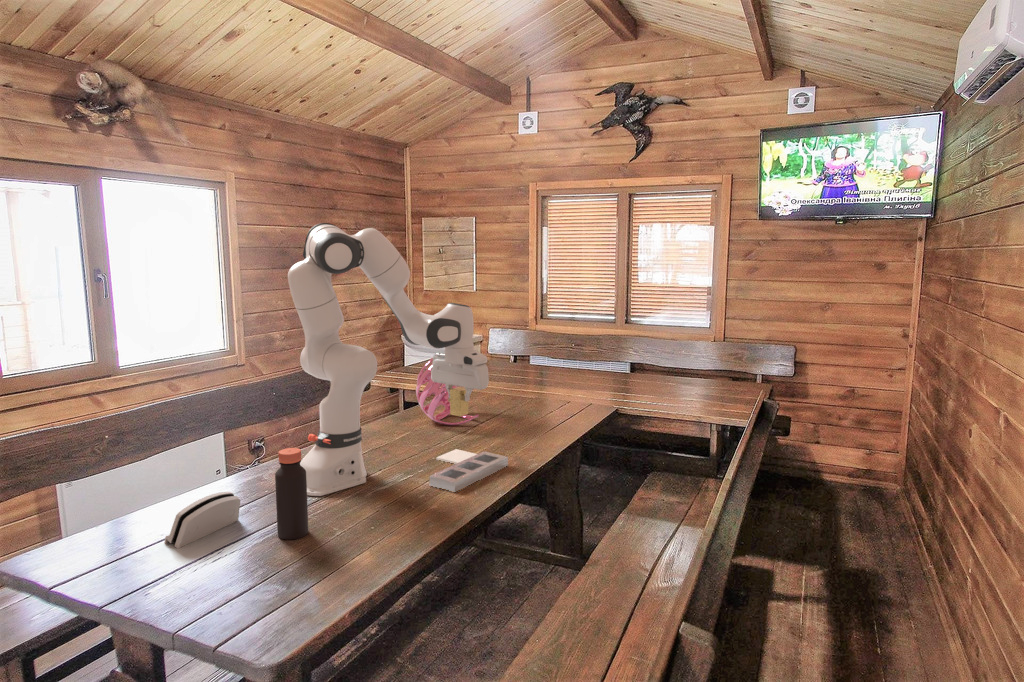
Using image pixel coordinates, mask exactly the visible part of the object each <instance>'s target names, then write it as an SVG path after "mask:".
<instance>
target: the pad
mask: <svg viewBox="0 0 1024 682" xmlns="http://www.w3.org/2000/svg"><path fill="white" fill-rule="evenodd" d="M477 454H478V453H475V452H469V451H466V450H461V449H457V448H455V449H453V450H451V451H448V452H445V453H443V454H441V455H438V456H437V457H435V459H436V461H439V460H441V461H440V462H443V461H445V462H444V463H447V462H450V463H449V464H451V463H454V464H453V465H455V464H457V463H459V462H461V461H463V460H466V459H468V458H470V457H472V456H475V455H477Z"/></svg>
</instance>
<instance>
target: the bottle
mask: <svg viewBox="0 0 1024 682" xmlns="http://www.w3.org/2000/svg"><path fill="white" fill-rule="evenodd" d="M301 460H302V450H301V449H300V448H297V447H287V448H283V449H280V450H279V451H278V464H279V465H280V467H279V468H278V469H277V470H276V472H274V473H275V474H274V482H275V484H274V485H275V486H274V487H275V504H276V524H277V525H276V528H277V536H278V537H279V538H280V539H282V540H288V541H292V540H298V539H301V538H303V537H305V536H306V535H307V534H308V532H309V514H308V513H309V512H308V495H307V480H306V470H305V469H304V468H303V467H302V466H301V465H300V462H301Z"/></svg>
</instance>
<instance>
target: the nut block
mask: <svg viewBox="0 0 1024 682" xmlns="http://www.w3.org/2000/svg"><path fill="white" fill-rule="evenodd" d="M466 392H467V391H465V387H461V386H459V387H456V388H453V389H450V398H449V402H450V414H449V415H451V416H456V417H459V416H460V418H462V417H461V416H463V415H466V414H467V415H469V401H463V395H465V394H466Z"/></svg>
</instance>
